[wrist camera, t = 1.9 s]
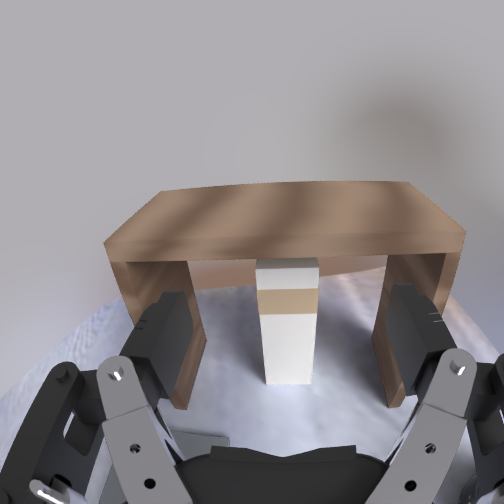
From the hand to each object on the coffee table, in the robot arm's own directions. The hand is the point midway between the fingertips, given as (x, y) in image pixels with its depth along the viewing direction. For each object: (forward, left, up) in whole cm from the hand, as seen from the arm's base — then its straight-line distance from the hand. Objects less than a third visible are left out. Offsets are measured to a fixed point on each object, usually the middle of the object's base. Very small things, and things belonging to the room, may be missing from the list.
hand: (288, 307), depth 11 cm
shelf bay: (0, +10, -18) cm, 21 cm away
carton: (0, +11, -18) cm, 21 cm away
